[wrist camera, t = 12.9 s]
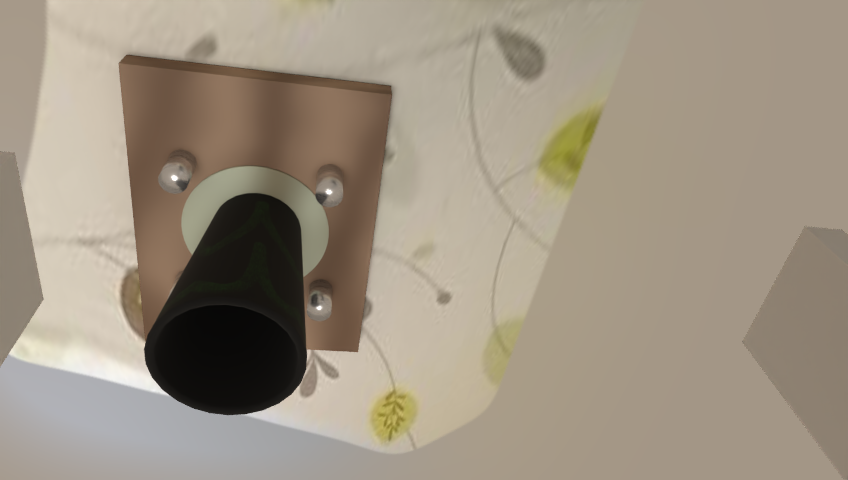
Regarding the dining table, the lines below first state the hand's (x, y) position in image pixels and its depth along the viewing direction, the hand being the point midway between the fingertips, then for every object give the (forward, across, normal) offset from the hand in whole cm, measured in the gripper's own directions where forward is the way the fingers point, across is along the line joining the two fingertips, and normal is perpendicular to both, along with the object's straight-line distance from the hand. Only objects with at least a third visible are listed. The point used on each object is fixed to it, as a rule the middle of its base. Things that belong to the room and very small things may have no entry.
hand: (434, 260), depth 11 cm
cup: (+27, -6, -17) cm, 33 cm away
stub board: (+29, -6, -17) cm, 34 cm away
